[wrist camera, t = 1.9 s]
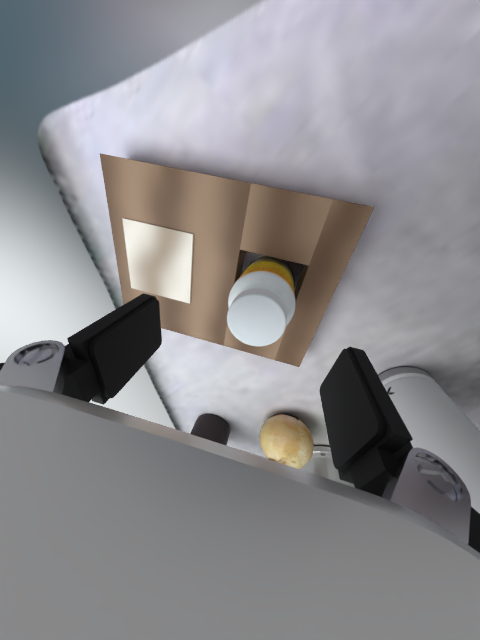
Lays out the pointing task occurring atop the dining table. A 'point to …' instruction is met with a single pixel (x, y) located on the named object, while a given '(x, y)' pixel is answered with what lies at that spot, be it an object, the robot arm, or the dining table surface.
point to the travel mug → (436, 423)
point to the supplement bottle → (261, 302)
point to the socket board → (224, 247)
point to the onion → (286, 441)
